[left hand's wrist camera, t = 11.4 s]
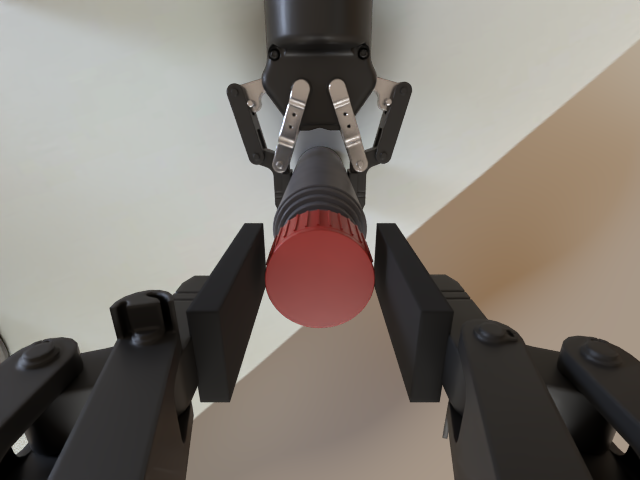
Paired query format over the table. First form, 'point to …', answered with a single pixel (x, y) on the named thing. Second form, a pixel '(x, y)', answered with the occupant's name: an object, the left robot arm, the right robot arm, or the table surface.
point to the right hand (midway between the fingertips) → (320, 213)
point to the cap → (319, 270)
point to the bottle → (319, 190)
